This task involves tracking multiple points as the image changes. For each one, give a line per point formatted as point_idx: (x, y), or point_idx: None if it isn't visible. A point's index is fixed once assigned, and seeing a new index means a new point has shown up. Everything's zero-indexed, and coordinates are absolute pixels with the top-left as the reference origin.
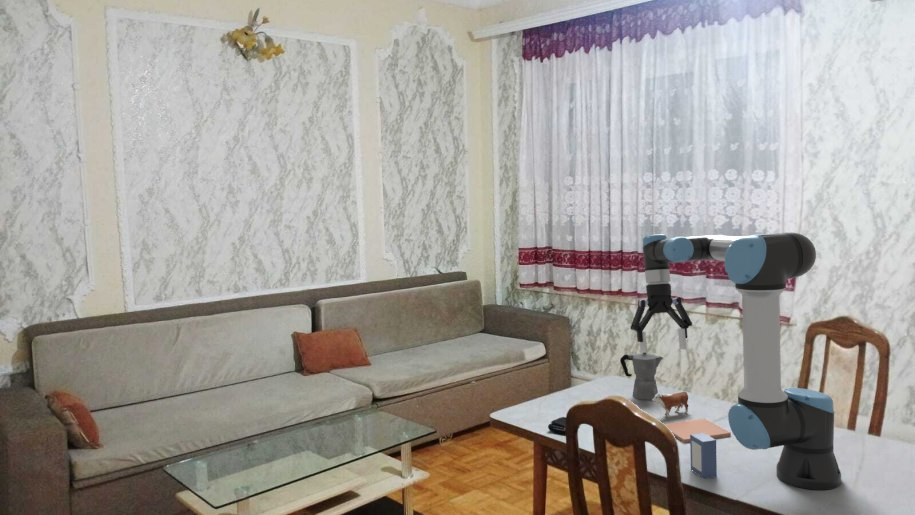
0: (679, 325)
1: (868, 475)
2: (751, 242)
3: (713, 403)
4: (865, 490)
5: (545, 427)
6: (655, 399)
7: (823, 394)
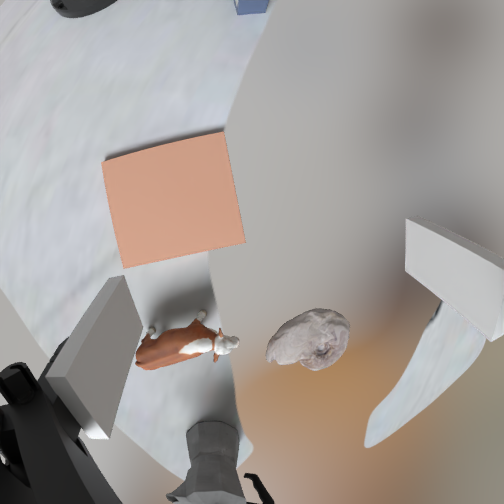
0: (85, 451)
1: (22, 7)
2: None
3: None
4: None
5: None
6: (232, 338)
7: None
